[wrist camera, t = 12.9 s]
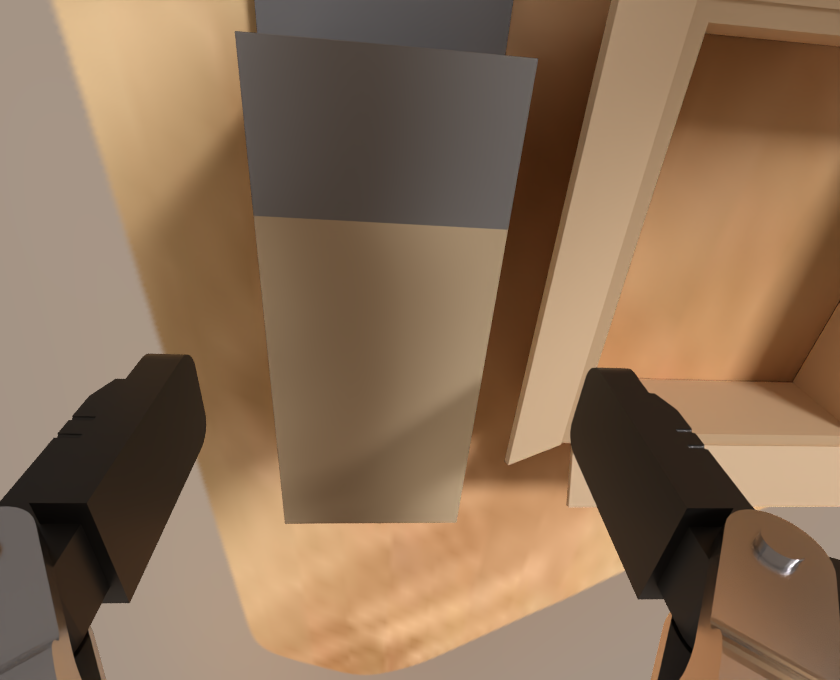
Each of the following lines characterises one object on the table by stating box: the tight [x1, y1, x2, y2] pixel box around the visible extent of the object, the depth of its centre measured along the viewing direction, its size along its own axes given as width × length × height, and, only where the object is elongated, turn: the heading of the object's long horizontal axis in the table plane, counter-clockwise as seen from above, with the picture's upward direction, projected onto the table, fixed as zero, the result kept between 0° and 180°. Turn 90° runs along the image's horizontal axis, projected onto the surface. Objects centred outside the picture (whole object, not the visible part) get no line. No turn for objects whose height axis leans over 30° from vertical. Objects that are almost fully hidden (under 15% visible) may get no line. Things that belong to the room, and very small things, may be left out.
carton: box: [505, 0, 840, 507], centre depth 18 cm, size 19×21×5 cm
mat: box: [255, 0, 513, 55], centre depth 19 cm, size 8×16×1 cm, turn 176°
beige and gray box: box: [235, 31, 538, 524], centre depth 15 cm, size 5×12×9 cm, turn 176°
